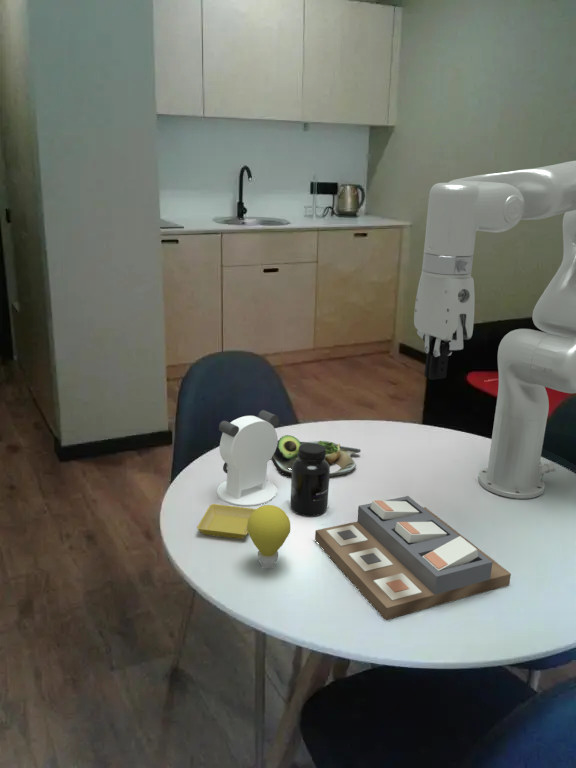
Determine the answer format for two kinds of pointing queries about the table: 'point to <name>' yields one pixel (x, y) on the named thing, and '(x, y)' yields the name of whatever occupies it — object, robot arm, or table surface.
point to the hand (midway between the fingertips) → (435, 377)
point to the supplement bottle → (310, 480)
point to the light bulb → (268, 533)
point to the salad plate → (334, 454)
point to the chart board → (392, 572)
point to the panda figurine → (248, 459)
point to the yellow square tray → (225, 521)
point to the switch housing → (423, 550)
